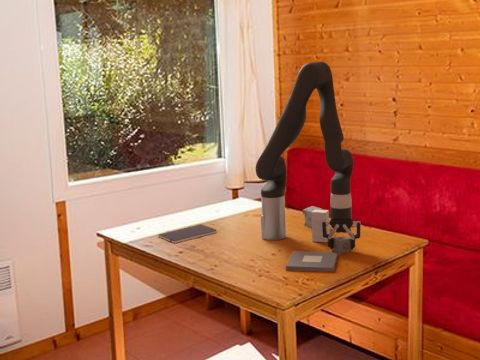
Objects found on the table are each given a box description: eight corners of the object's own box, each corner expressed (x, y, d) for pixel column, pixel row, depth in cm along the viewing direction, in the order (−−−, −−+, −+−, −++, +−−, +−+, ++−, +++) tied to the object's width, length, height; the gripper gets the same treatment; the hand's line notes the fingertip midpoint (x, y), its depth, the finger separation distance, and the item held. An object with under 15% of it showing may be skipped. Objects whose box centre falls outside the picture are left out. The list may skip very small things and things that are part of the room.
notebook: (201, 227, 264) (158, 238, 252) (201, 224, 264) (158, 234, 251) (217, 233, 254) (173, 244, 242) (217, 229, 253) (173, 240, 241)
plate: (286, 270, 205) (285, 265, 204) (293, 254, 220) (293, 250, 220) (333, 272, 201) (333, 267, 201) (337, 256, 216) (337, 252, 216)
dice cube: (332, 250, 223) (332, 237, 222) (343, 248, 225) (343, 235, 224) (339, 254, 218) (339, 240, 217) (351, 251, 220) (351, 238, 219)
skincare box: (330, 239, 236) (329, 210, 233) (326, 242, 232) (326, 212, 229) (315, 238, 238) (314, 209, 236) (311, 241, 234) (310, 211, 232)
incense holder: (302, 226, 256) (301, 207, 254) (314, 223, 259) (314, 205, 258) (313, 230, 249) (313, 211, 248) (326, 227, 253) (325, 208, 251)
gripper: (319, 207, 216) (321, 251, 219) (360, 207, 213) (361, 252, 216) (322, 202, 223) (323, 245, 227) (361, 202, 220) (362, 246, 223)
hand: (341, 248), depth 221 cm, fingers closed on dice cube, 7 cm apart
